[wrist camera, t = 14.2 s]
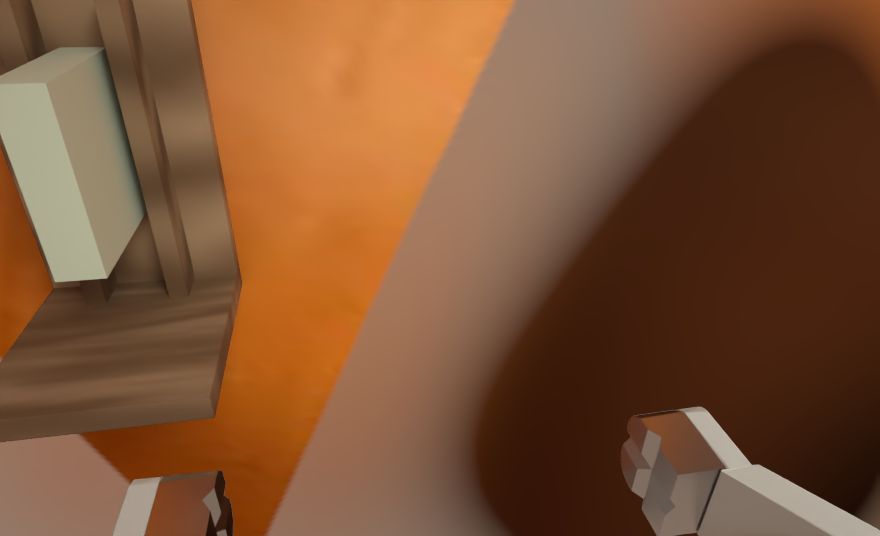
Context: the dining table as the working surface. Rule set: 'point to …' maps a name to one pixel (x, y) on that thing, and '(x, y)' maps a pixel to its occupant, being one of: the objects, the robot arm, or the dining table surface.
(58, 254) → the door panel
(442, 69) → the dining table surface
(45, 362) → the track board
